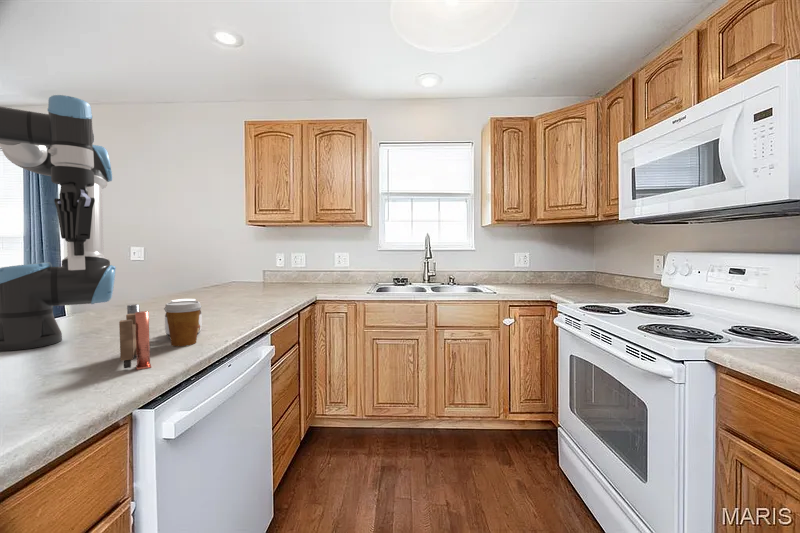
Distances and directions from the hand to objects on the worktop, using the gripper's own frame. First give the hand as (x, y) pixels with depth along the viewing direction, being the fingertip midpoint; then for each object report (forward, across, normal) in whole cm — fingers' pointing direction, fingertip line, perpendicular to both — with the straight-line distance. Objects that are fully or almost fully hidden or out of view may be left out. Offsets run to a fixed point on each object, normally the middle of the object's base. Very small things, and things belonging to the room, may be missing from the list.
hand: (76, 269), depth 89 cm
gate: (+22, +9, +6) cm, 25 cm away
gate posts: (+23, +9, +8) cm, 26 cm away
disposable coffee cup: (+23, +3, +24) cm, 33 cm away
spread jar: (+24, -8, +30) cm, 39 cm away
